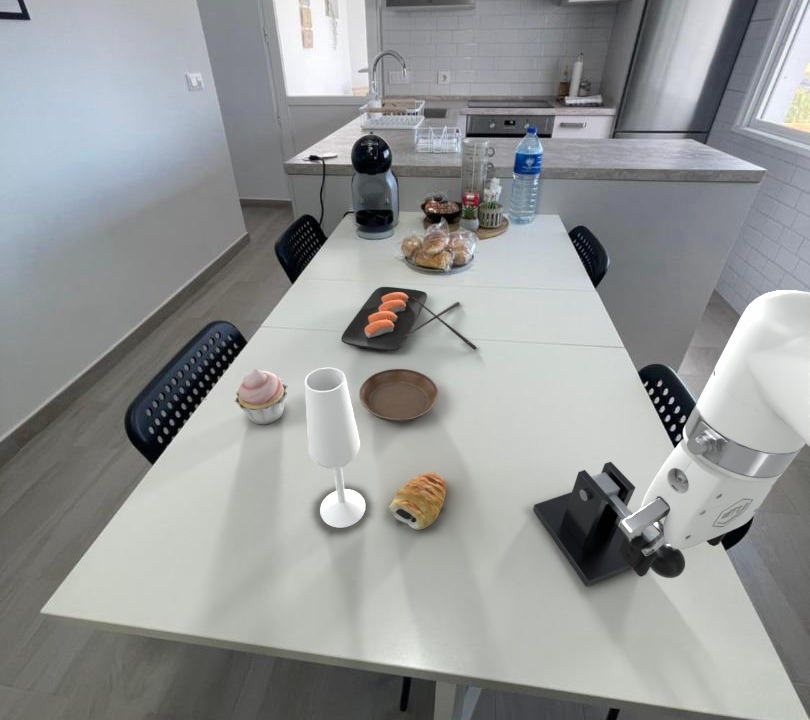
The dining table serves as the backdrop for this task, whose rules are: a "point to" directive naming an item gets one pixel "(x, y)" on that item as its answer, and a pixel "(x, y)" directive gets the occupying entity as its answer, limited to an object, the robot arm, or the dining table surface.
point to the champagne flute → (333, 441)
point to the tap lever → (667, 558)
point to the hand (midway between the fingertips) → (668, 548)
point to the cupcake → (262, 396)
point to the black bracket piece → (588, 526)
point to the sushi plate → (390, 319)
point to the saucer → (398, 394)
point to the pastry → (419, 501)
